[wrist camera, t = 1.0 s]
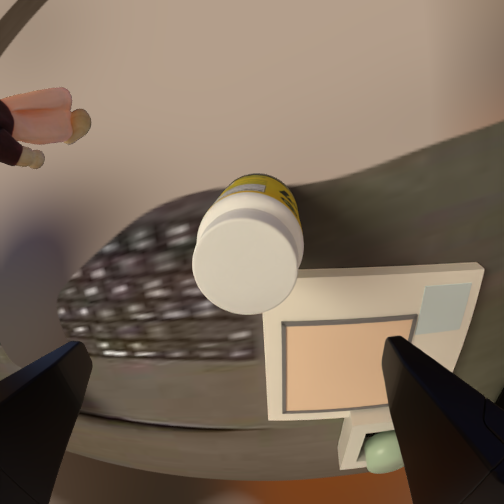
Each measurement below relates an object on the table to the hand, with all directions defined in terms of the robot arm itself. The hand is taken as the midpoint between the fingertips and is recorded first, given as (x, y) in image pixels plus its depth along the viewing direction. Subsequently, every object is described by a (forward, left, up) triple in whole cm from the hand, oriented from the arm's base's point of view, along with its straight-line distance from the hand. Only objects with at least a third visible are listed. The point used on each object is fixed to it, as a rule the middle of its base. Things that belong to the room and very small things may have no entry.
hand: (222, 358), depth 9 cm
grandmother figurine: (+13, -9, -13) cm, 20 cm away
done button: (-11, +20, -10) cm, 25 cm away
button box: (-11, +20, -12) cm, 26 cm away
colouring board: (-8, +10, -12) cm, 18 cm away
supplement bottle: (0, -1, -13) cm, 13 cm away
